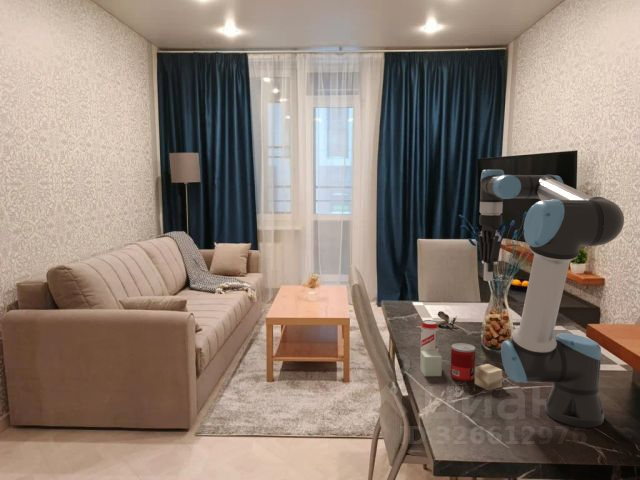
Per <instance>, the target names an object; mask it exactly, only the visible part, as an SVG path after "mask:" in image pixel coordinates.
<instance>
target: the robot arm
mask: <svg viewBox="0 0 640 480" xmlns="http://www.w3.org/2000/svg"><path fill="white" fill-rule="evenodd" d="M481 171H482V172H481V175H480V179H479V180H480V193H479V194H480V195H479V196H480V200H479V213H480V215H478V216H479V217H478V218H479V220H478V223H479V226H482V227H481V231H478V232H477V233H476V234H477V238H478V244H479V245H478V248H479V257H480V258H479V259H480V260H482V262H483V281H485V282H489V281H490V282H493V281H494V280H493V279H494V278H493V277H494V264H495V263H498V261H499V257H500V252H501V247H502V242H503V241H504V235H501V234H500V229H499V226H500V227H501V226H502V224H503V215H502V214H503V206H504V204H503V202H504V200H510V199H538V200H539V201H537V202H535V203H534V204H532V205H531V207H530V208H529V209H528V211H527V213H526V216H525V218H524V222H523V230H524V232H523V238H524V241H525V243H526V244H527V245H529V248H528V249H529V250H530V252H531V253H532V254H533V257H532V264H531V269H530V274H529V279H528V283H527V289H526V294H525V297H524V304H523V308H522V314H521V318H520V323H519V327H518V328H516V329H514V330H513V331H512V335H511V339H506V340H504V341H502V342H501V345H500V356H501V361H502V365H503V368H504V372H505V373H506V375H507V377H508V378H509V379H510V380H511V381H512V382H515V383H525V384H527V383H552V388H551V389H550V392H549V395H548V398H546V401H545V403H544V411H545V413H546V415H547V416H548V417H550V418H551V419H553V420H555V421H557V422H559V423H562V424H565V425H567V426H572V427H577V428H586V429H588V428H597V427H600V426H601V425H602V424H604V421H605V420H604V418H605V411H604V409H603V406H602V402H601V398H600V395H599V388H600V379H601V378H600V377H601V376H600V375H601V363H602V362H601V361H602V360H603V359H602V348H601V346H600V344H599V343H598V342H597V341H595V340H593V339H590V338H588V337H585V336H582V335H579V334H573V333H566V332H559V333H557V334H555V337H554V331H555V327H556V323H557V318H558V314H559V310H560V305H561V301H562V297H563V293H564V289H565V286H566V285H565V284H566V281H567V277H568V272H569V268H570V263H571V262H572V261H574V260H575V259H577V258H578V256H579V254H580V250H581V247H598V246H604V245H607V244H608V243H610V242H612V241H613V240H615V239H617V237H618V236H619V235H620V234H621V232H622V230H623V229H624V224H625V216H624V213H623V211H622V209H621V207H620V206H619V205H618V204H616V203H615V202H613V201H612V200H610V199H607V198H605V197H602V196H591V195H590V194H589V195H588V194H587V193H586V192H585V193H584V192H582V191H580V190H578V189H576V188H574V187H572V186H569V185H567V184H565V183H564V181H563V179H562V177H561V176H559V175H556V174H555V175H553V174H545V175H544V174H543V175H542V174H541V175H540V174H539V175H536V174H533V175H532V174H531V175H530V174H529V175H527V174H526V175H525V174H524V175H523V174H521V175H520V174H517V175H516V174H514V175H513V174H505V171H504V169H483V170H481Z"/></svg>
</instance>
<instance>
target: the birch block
mask: <svg viewBox="0 0 640 480" xmlns="http://www.w3.org/2000/svg"><path fill="white" fill-rule="evenodd" d="M474 385H476V386H477V387H480V388H482V389H484V390H486V391H488V392H489V391H492V390H495V389H499V388H502V385H503V369H501V368H499V367H497V366H494V365H492V364H490V363H485V364H481V365H478V366H475V374H474Z"/></svg>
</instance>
